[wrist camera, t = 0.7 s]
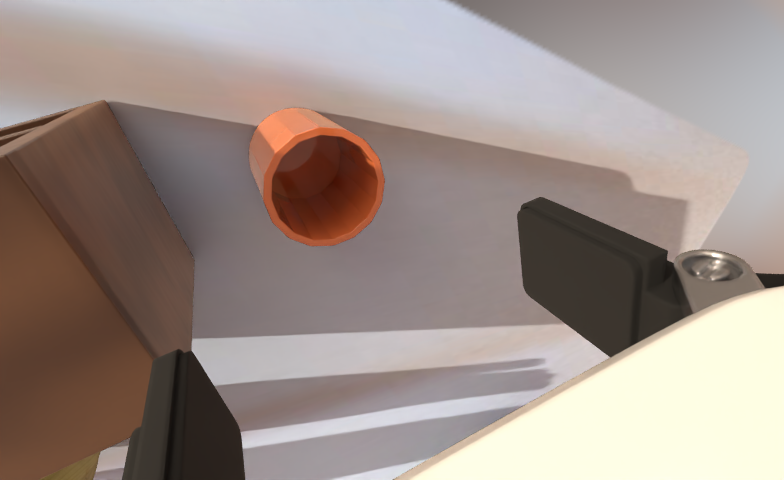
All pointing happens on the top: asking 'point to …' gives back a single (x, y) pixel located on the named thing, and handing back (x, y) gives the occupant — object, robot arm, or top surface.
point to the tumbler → (315, 177)
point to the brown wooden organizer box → (81, 289)
